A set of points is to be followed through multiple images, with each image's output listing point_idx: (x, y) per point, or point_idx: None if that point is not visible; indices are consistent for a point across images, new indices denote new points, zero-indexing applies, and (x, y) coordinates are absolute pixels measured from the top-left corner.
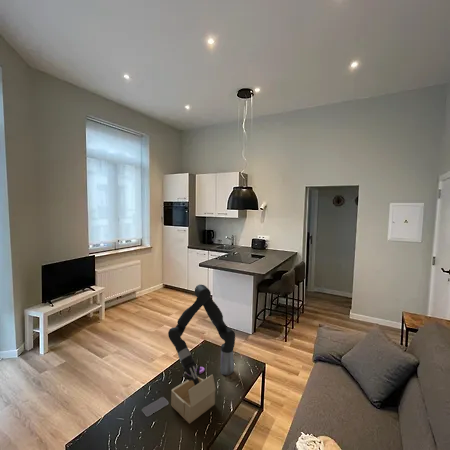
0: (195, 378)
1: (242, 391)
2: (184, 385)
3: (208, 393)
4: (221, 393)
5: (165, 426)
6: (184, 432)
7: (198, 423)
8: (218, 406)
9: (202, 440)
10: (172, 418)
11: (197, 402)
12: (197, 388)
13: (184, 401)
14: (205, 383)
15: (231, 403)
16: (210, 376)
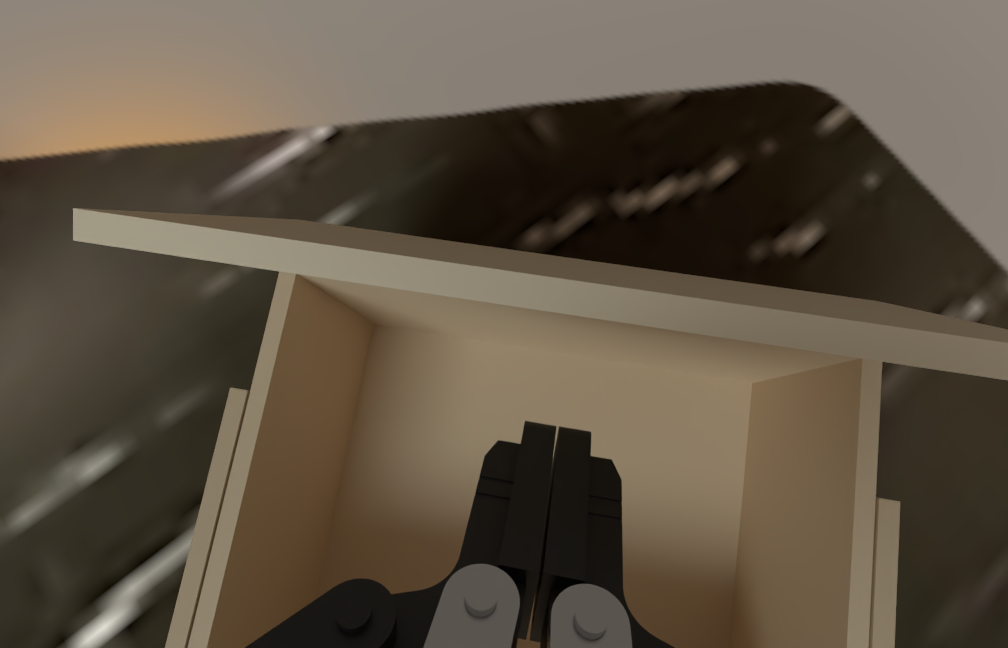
0: (522, 608)
1: (32, 170)
2: None
3: (464, 244)
4: (178, 350)
5: (988, 590)
6: None
7: None
8: None
9: (810, 139)
10: None
11: (743, 282)
12: (752, 298)
13: (859, 520)
14: (449, 253)
15: (254, 172)
16: (182, 221)
